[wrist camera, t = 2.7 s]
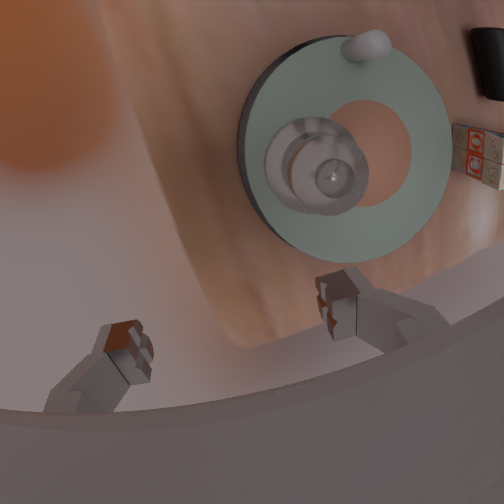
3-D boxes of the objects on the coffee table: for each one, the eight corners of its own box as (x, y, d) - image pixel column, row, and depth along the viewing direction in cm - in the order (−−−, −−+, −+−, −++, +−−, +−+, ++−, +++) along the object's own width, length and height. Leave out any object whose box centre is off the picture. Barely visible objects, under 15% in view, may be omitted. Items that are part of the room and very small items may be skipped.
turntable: (219, 52, 22) (221, 35, 16) (432, 45, 23) (471, 41, 17) (269, 279, 33) (281, 315, 28) (442, 231, 34) (473, 254, 28)
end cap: (458, 29, 23) (494, 26, 17) (486, 32, 23) (519, 32, 17) (475, 97, 28) (510, 103, 22) (500, 95, 27) (533, 101, 21)
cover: (254, 125, 24) (266, 130, 19) (349, 111, 24) (382, 114, 19) (273, 219, 29) (288, 246, 23) (359, 199, 29) (389, 221, 23)
